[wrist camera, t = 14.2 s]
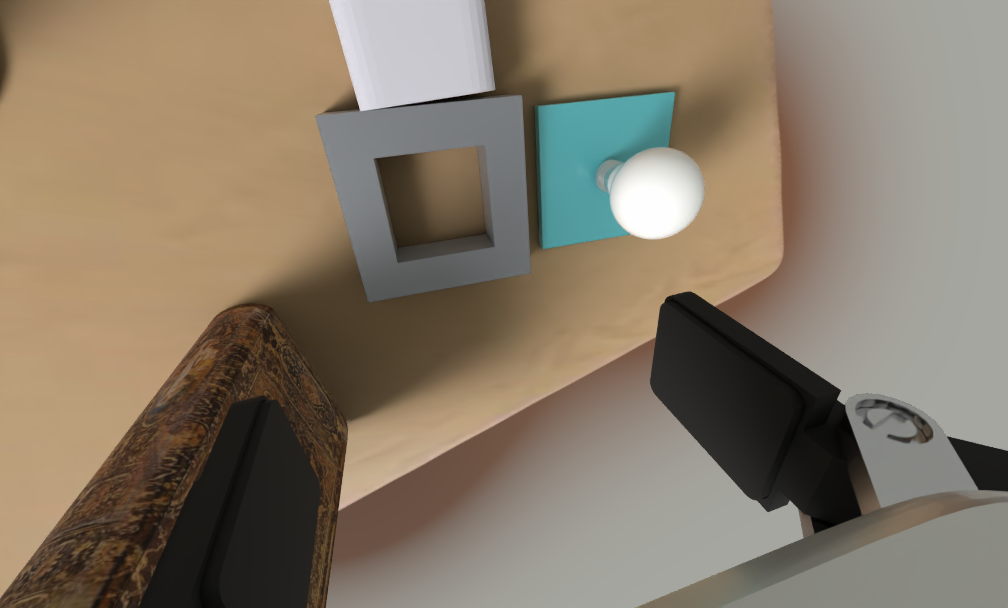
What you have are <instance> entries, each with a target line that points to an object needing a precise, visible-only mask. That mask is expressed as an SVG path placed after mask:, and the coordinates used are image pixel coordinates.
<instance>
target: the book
mask: <svg viewBox="0 0 1008 608" xmlns="http://www.w3.org/2000/svg"><path fill="white" fill-rule="evenodd" d="M261 395H265V396H266V397H267V398H268V399H269V400H273V399H276V400H277V401H278V402H279V403H280V405H281V407H282V409H283V411H284V413H285V415H286V417H287V419H288V421H289V422H290V424H291V426H292V428H293V430H294V432H295V434H296V436H297V438H298V440H299V442H300V444H301V446H302V448H303V450H304V452H305V453H306V455H307V457H308V459H309V461H310V463H311V465H312V467H313V469H314V471H315V473H316V475H317V477H318V479H319V484H320V500H319V509H318V517H317V526H316V534H315V543H314V552H313V560H312V569H311V577H310V586H309V595H308V603H307V608H326V600H327V593H328V585H329V577H330V570H331V562H332V554H333V546H334V539H335V531H336V523H337V516H338V508H339V500H340V493H341V485H342V477H343V470H344V462H345V454H346V446H347V438H348V437H347V435H348V427H347V423H346V420H345V419H344V417H343V415H342V414H341V412H340V411H339V409H338V407H337V406H336V404H335V403H334V401H333V399H332V398H331V396H330V395H329V393H328V392H327V390H326V389H325V387H324V386H323V384H322V383H321V381H320V380H319V378H318V377H317V375H316V374H315V372H314V371H313V369H312V368H311V366H310V365H309V363H308V362H307V360H306V359H305V357H304V356H303V354H302V353H301V351H300V350H299V348H298V347H297V345H296V344H295V343H294V341H293V340H292V338H291V337H290V335H289V334H288V332H287V331H286V329H285V328H284V326H283V325H282V323H281V322H280V320H279V319H278V317H277V316H276V314H275V313H274V311H273V309H271V308H270V307H267V306H264V305H259V304H245V305H239V306H235V307H232V308H229V309H227V310H225V311H223V312H221V313H219V314H218V315H217V316H216V317H215V318H214V319H213V320H212V322H211V323H210V324H209V325H208V327H207V328H206V329H205V331H204V332H203V333H202V335H201V336H200V337H199V339H198V340H197V341H196V342H195V344H194V345H193V346H192V348H191V349H190V350H189V352H188V353H187V354H186V356H185V357H184V358H183V359H182V361H181V362H180V363H179V365H178V366H177V367H176V369H175V370H174V371H173V373H172V374H171V375H170V377H169V378H168V379H167V380H166V382H165V383H164V384H163V386H162V387H161V388H160V390H159V391H158V392H157V394H156V395H155V396H154V397H153V399H152V400H151V401H150V403H149V404H148V405H147V407H146V408H145V409H144V411H143V412H142V413H141V415H140V416H139V417H138V418H137V420H136V421H135V422H134V424H133V425H132V426H131V428H130V429H129V430H128V432H127V433H126V434H125V435H124V437H123V438H122V439H121V441H120V442H119V443H118V445H117V446H116V447H115V449H114V450H113V451H112V453H111V454H110V455H109V456H108V458H107V459H106V460H105V462H104V463H103V464H102V466H101V467H100V468H99V470H98V471H97V472H96V473H95V475H94V476H93V477H92V479H91V480H90V481H89V483H88V484H87V485H86V487H85V488H84V489H83V491H82V492H81V493H80V494H79V496H78V497H77V498H76V500H75V501H74V502H73V504H72V505H71V506H70V508H69V509H68V510H67V511H66V513H65V514H64V515H63V517H62V518H61V519H60V521H59V522H58V523H57V525H56V526H55V527H54V529H53V530H52V531H51V532H50V534H49V535H48V536H47V538H46V539H45V540H44V542H43V543H42V544H41V546H40V547H39V548H38V549H37V551H36V552H35V553H34V555H33V556H32V557H31V559H30V560H29V561H28V563H27V564H26V565H25V567H24V568H23V569H22V570H21V572H20V573H19V574H18V576H17V577H16V578H15V580H14V581H13V582H12V584H11V585H10V586H9V587H8V589H7V590H6V591H5V593H4V594H3V595H2V597H1V598H0V608H138V607H139V605H140V603H141V600H142V598H143V596H144V594H145V591H146V589H147V587H148V584H149V582H150V580H151V577H152V575H153V573H154V571H155V568H156V566H157V564H158V561H159V559H160V557H161V554H162V552H163V550H164V548H165V545H166V543H167V541H168V538H169V536H170V534H171V531H172V529H173V527H174V524H175V522H176V520H177V518H178V515H179V513H180V511H181V508H182V506H183V504H184V501H185V499H186V497H187V495H188V492H189V490H190V488H191V487H192V485H193V483H194V482H195V481H196V480H197V479H198V478H199V477H200V476H201V474H202V472H203V469H204V467H205V464H206V462H207V460H208V457H209V455H210V453H211V450H212V448H213V445H214V443H215V441H216V438H217V436H218V434H219V431H220V429H221V427H222V424H223V422H224V419H225V417H226V415H227V412H228V410H229V408H230V406H231V404H232V403H234V402H236V401H241V400H245V399H249V398H253V397H257V396H261Z"/></svg>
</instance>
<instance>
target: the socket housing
mask: <svg viewBox="0 0 1008 608" xmlns="http://www.w3.org/2000/svg"><path fill="white" fill-rule="evenodd" d="M315 117H316V120H317V124H318V127H319V131H320V135H321V138H322V142H323V145H324V149H325V152H326V156H327V159H328V163H329V166H330V170H331V173H332V177H333V180H334V184H335V187H336V191H337V194H338V198H339V201H340V205H341V208H342V212H343V215H344V219H345V222H346V226H347V229H348V233H349V236H350V240H351V243H352V247H353V251H354V254H355V258H356V261H357V265H358V268H359V272H360V275H361V279H362V282H363V286H364V289H365V293H366V296H367V300H368V303H369V302H374V301H380V300H386V299H391V298H397V297H402V296H408V295H413V294H419V293H424V292H430V291H435V290H441V289H447V288H452V287H458V286H463V285H469V284H474V283H480V282H485V281H491V280H496V279H502V278H508V277H513V276H519V275H524V274H530V273H531V267H530V247H529V226H528V206H527V186H526V165H525V145H524V125H523V104H522V95H513V94H507V95H497V96H487V97H477V98H467V99H456V100H446V101H436V102H426V103H416V104H406V105H399V106H392V107H386V108H380V109H373V110H366V111H360V109H355V110H345V111H335V112H325V113H321V114H318V115H316V116H315ZM473 146H477V150H478V159H479V169H480V178H481V188H482V197H483V207H484V217H485V226H486V234H481V235H475V236H469V237H463V238H456V239H450V240H444V241H437V242H431V243H425V244H419V245H412V246H406V247H400V248H397V246H396V241H395V237H394V232H393V228H392V223H391V219H390V215H389V210H388V206H387V201H386V197H385V192H384V188H383V184H382V179H381V175H380V170H379V166H378V161H377V158H381V157H389V156H398V155H406V154H414V153H423V152H431V151H439V150H448V149H456V148H465V147H473Z"/></svg>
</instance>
